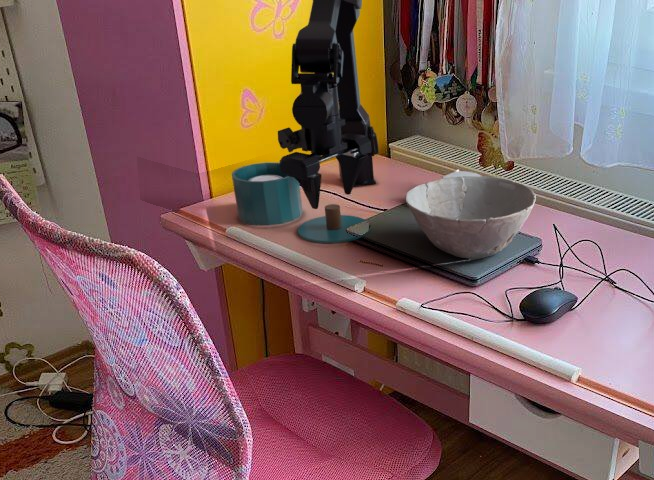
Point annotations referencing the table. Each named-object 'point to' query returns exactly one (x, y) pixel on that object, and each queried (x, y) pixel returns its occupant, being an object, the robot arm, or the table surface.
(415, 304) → the table surface
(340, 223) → the lid
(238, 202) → the canister
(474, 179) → the ceramic bowl
